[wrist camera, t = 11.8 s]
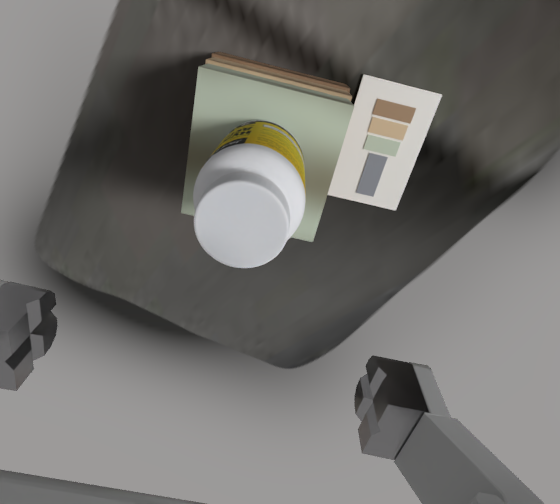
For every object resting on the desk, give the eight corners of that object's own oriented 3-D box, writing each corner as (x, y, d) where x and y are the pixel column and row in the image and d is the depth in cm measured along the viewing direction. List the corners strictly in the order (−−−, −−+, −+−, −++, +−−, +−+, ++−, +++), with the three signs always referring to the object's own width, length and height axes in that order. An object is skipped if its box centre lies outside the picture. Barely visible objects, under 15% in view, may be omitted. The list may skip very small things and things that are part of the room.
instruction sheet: (363, 74, 30) (363, 74, 30) (441, 94, 31) (442, 95, 31) (326, 193, 35) (327, 194, 35) (395, 209, 36) (395, 211, 35)
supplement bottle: (252, 98, 23) (228, 133, 14) (321, 157, 25) (336, 221, 16) (200, 167, 25) (152, 234, 16) (267, 218, 27) (254, 304, 18)
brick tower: (219, 51, 30) (192, 57, 22) (345, 84, 31) (363, 100, 23) (201, 175, 35) (174, 216, 27) (311, 201, 36) (316, 248, 28)
